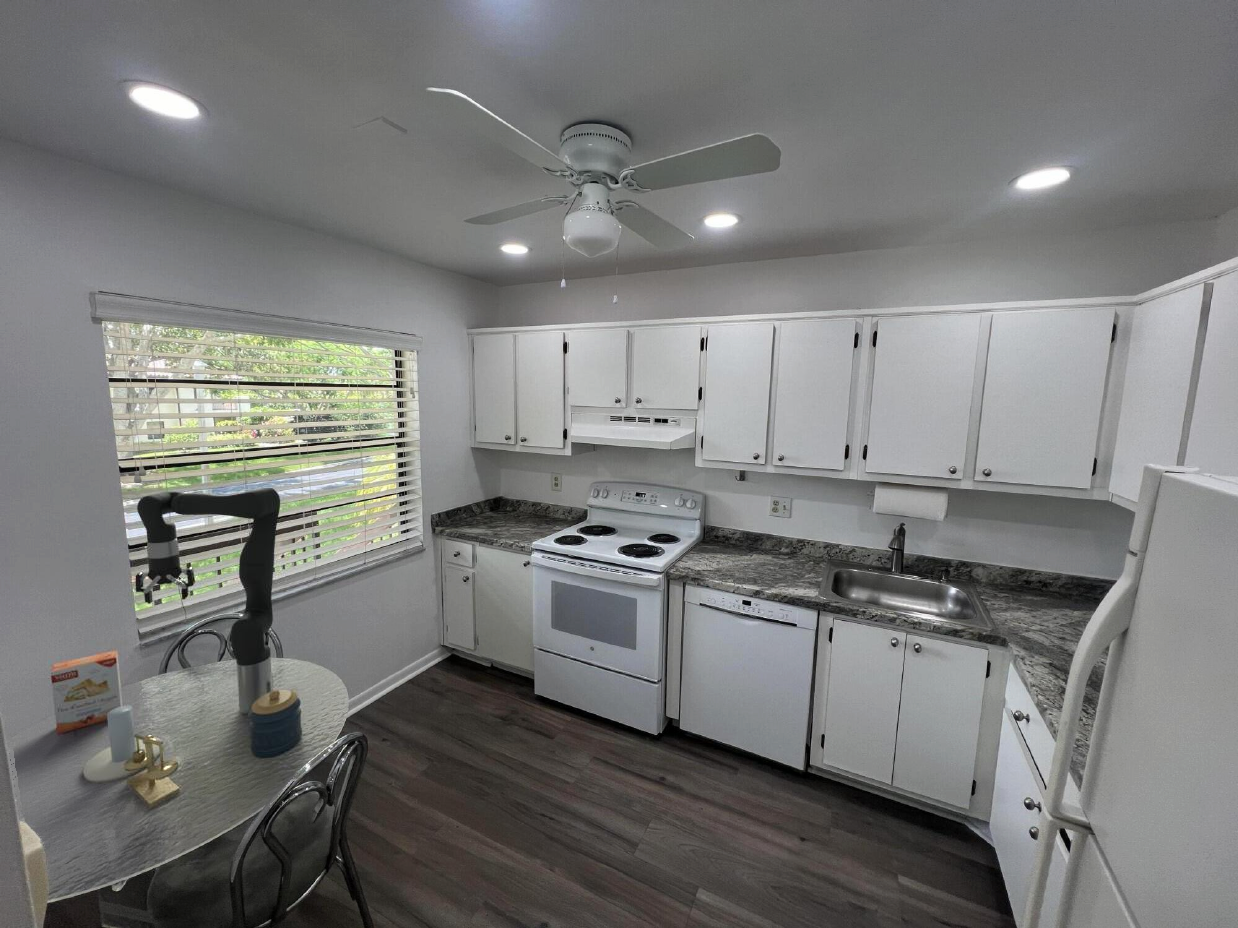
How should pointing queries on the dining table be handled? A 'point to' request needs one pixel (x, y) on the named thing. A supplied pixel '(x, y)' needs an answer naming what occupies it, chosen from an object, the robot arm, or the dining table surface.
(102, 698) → the cracker box
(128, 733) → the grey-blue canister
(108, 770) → the cream plate
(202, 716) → the dining table surface
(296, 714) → the canister
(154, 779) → the brass balance
